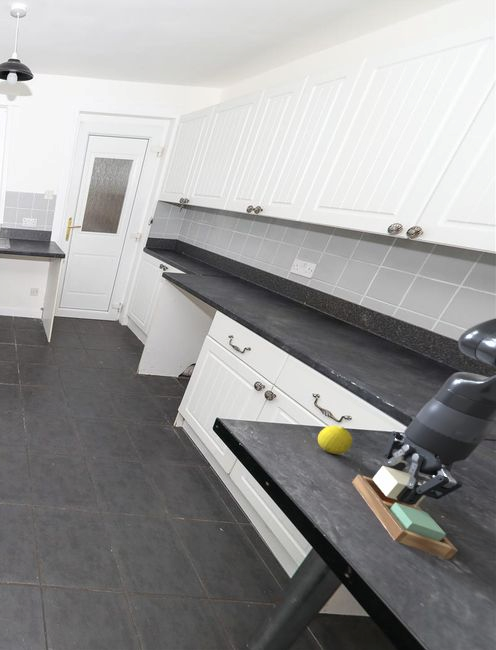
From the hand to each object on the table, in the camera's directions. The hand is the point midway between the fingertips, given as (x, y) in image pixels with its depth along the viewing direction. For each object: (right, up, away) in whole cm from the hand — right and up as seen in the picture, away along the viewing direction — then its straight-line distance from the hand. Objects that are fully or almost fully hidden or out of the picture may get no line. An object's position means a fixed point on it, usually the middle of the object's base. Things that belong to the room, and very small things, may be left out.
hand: (394, 491), depth 68 cm
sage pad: (-3, -5, -4) cm, 7 cm away
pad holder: (-2, -5, -1) cm, 5 cm away
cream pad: (0, 0, 0) cm, 0 cm away
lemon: (+1, +1, +15) cm, 15 cm away
